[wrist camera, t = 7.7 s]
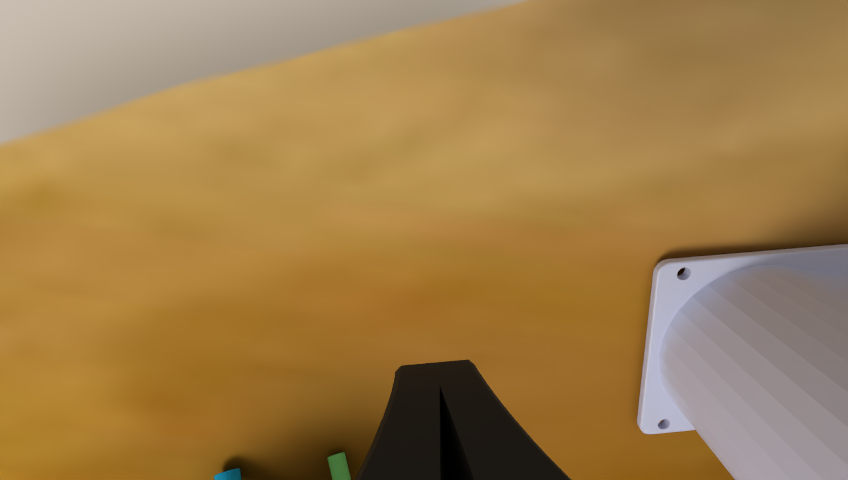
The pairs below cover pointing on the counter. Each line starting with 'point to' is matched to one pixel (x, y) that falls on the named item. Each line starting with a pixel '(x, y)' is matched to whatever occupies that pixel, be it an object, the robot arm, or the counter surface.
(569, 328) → the counter surface
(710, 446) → the robot arm
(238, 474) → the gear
